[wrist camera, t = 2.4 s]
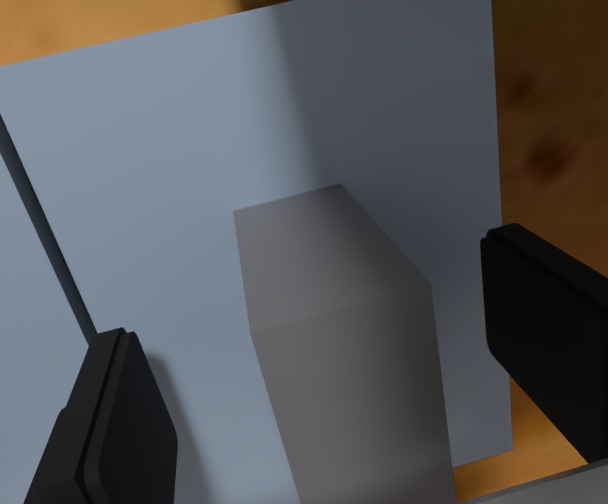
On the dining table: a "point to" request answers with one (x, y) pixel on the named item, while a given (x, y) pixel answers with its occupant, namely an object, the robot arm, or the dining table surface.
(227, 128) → the flap
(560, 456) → the dining table surface
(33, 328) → the flap
